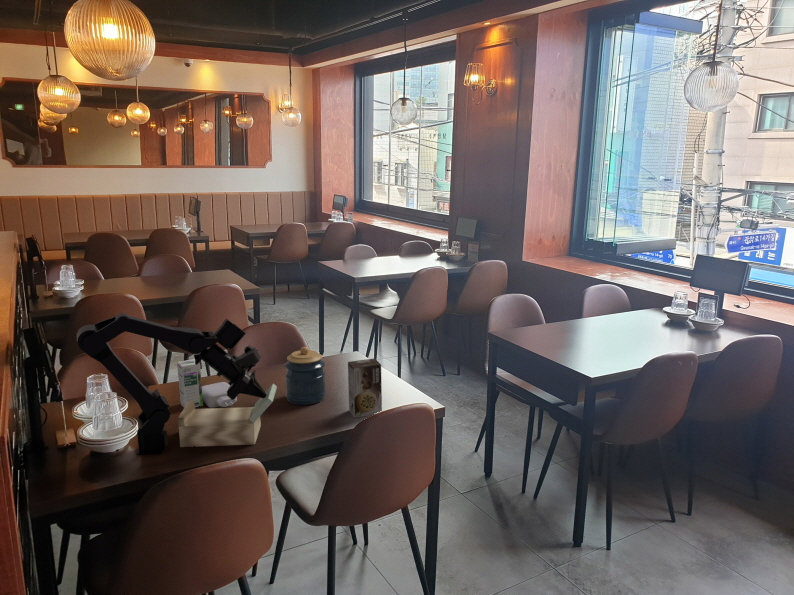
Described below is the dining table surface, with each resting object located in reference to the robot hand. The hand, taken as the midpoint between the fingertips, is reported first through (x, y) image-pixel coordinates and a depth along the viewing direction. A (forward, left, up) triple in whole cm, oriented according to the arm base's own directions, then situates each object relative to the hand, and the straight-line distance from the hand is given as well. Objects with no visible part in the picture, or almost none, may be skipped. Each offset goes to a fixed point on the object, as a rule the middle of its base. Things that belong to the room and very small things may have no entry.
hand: (265, 396), depth 172 cm
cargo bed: (-13, 0, -11) cm, 17 cm away
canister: (+9, +27, -12) cm, 31 cm away
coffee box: (+28, +14, -12) cm, 34 cm away
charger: (-17, +24, -12) cm, 32 cm away
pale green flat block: (-3, 0, -5) cm, 6 cm away
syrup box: (-27, +24, -12) cm, 38 cm away
